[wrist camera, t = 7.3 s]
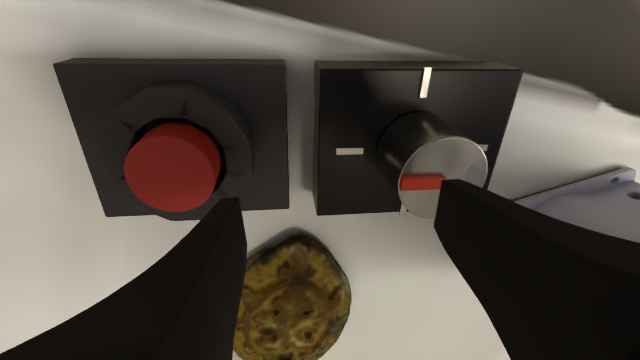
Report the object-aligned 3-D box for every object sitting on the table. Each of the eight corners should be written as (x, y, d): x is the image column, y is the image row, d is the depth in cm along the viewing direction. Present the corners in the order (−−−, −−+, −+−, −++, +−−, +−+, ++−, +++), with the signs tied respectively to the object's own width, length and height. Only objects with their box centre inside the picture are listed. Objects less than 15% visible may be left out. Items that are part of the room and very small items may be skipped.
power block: (284, 59, 17) (287, 71, 13) (288, 194, 20) (290, 227, 17) (73, 57, 15) (22, 71, 12) (118, 201, 19) (88, 238, 16)
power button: (215, 121, 14) (208, 135, 13) (225, 191, 16) (219, 210, 15) (129, 122, 14) (112, 136, 13) (149, 194, 16) (135, 214, 14)
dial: (457, 111, 16) (504, 138, 13) (441, 181, 18) (478, 220, 15) (380, 111, 16) (408, 140, 12) (372, 183, 18) (394, 224, 14)
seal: (225, 219, 22) (232, 361, 29) (204, 268, 18) (217, 420, 24) (362, 229, 22) (337, 366, 29) (373, 279, 18) (341, 425, 25)
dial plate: (495, 59, 18) (528, 67, 16) (461, 188, 22) (483, 210, 19) (314, 58, 17) (320, 66, 14) (312, 195, 21) (317, 219, 18)
